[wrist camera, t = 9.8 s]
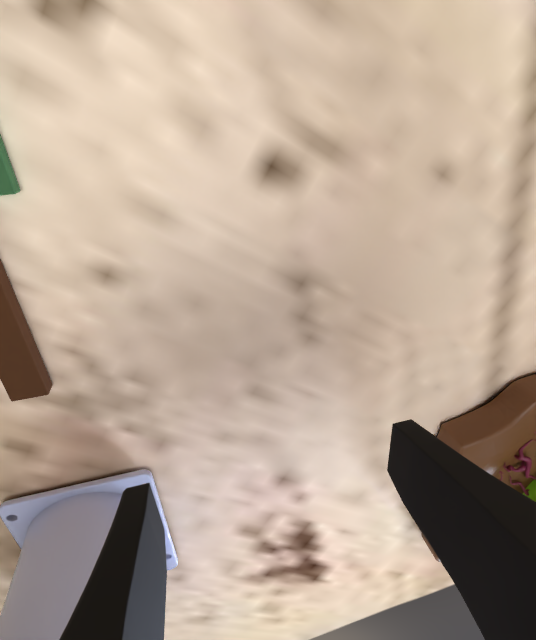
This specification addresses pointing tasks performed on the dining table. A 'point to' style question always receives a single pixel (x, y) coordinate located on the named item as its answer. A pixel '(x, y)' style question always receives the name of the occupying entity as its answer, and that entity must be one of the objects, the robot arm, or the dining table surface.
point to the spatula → (17, 324)
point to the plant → (500, 437)
